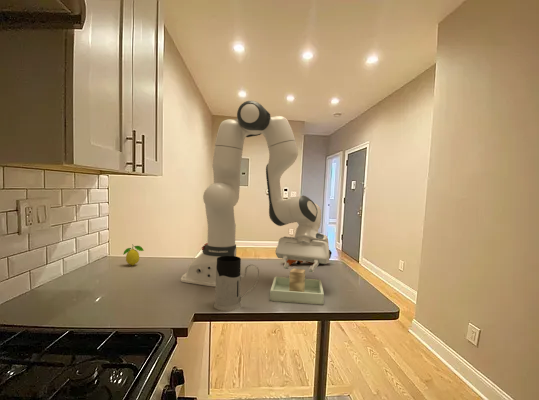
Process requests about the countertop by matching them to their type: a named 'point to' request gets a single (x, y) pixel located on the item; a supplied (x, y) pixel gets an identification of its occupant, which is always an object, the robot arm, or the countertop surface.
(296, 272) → the block
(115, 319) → the countertop surface
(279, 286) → the tray
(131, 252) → the lemon
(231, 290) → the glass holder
